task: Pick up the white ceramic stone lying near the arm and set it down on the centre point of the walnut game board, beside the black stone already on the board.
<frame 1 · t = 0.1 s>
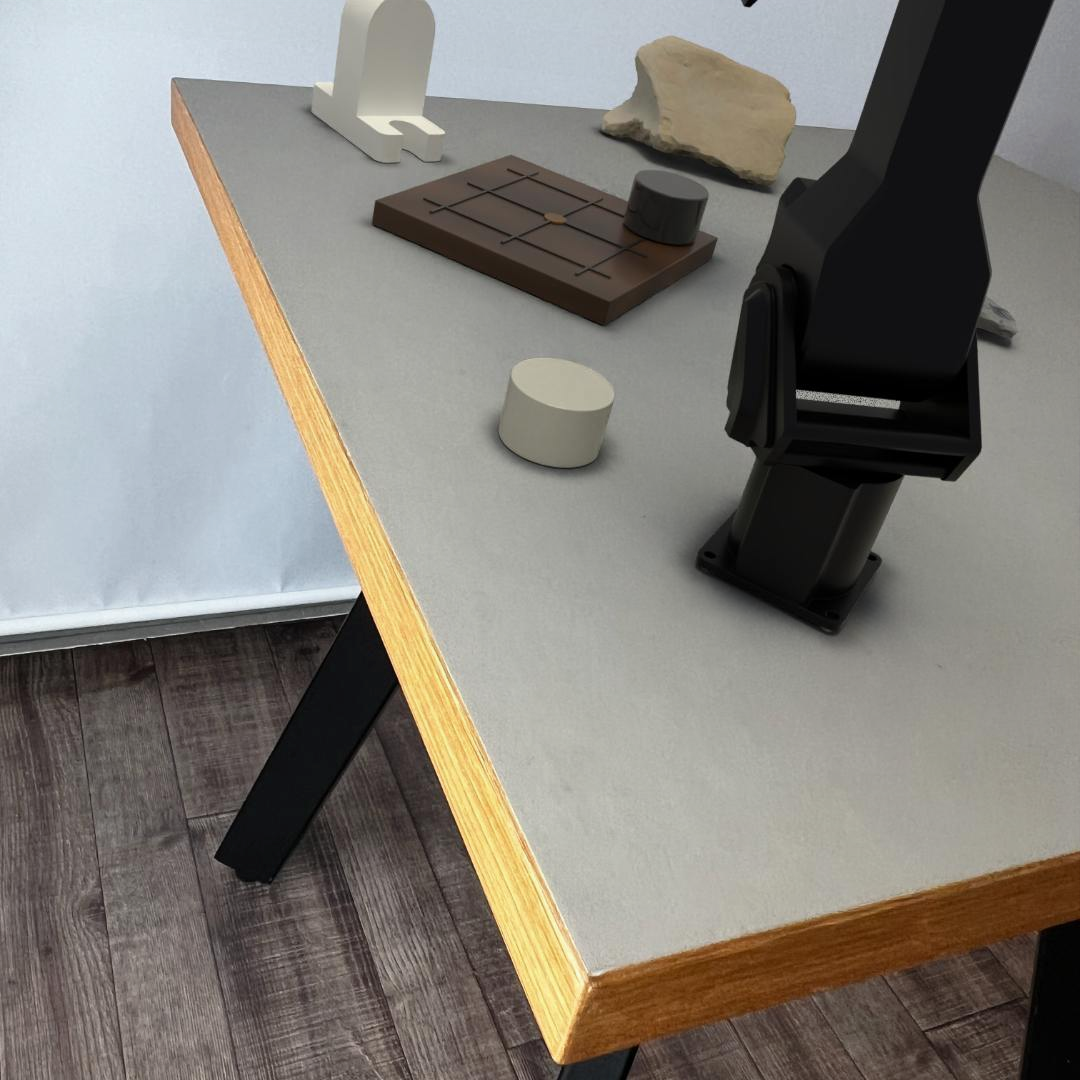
decorative stone: (692, 163, 99), on the table
fossil rock: (892, 272, 88), on the table
black stone: (659, 229, 79), point 2 cm above the table, touching board
white slotted stand: (374, 137, 87), on the table
white stone: (549, 439, 57), on the table
board: (549, 242, 78), on the table
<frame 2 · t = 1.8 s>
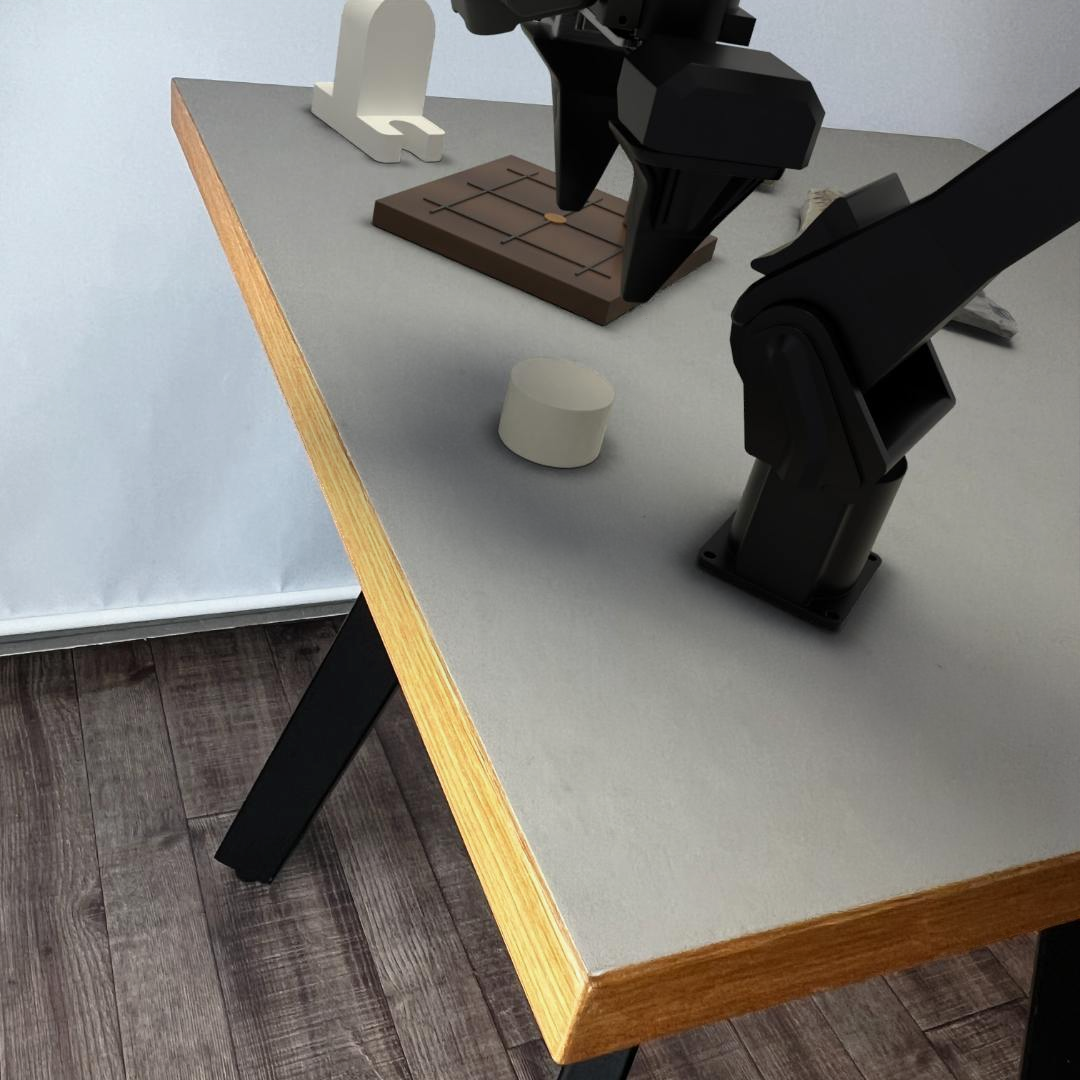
hand: (598, 252, 52), 9 cm above the table, tool pointing down, fingers open, 9 cm apart
nothing on the table moved.
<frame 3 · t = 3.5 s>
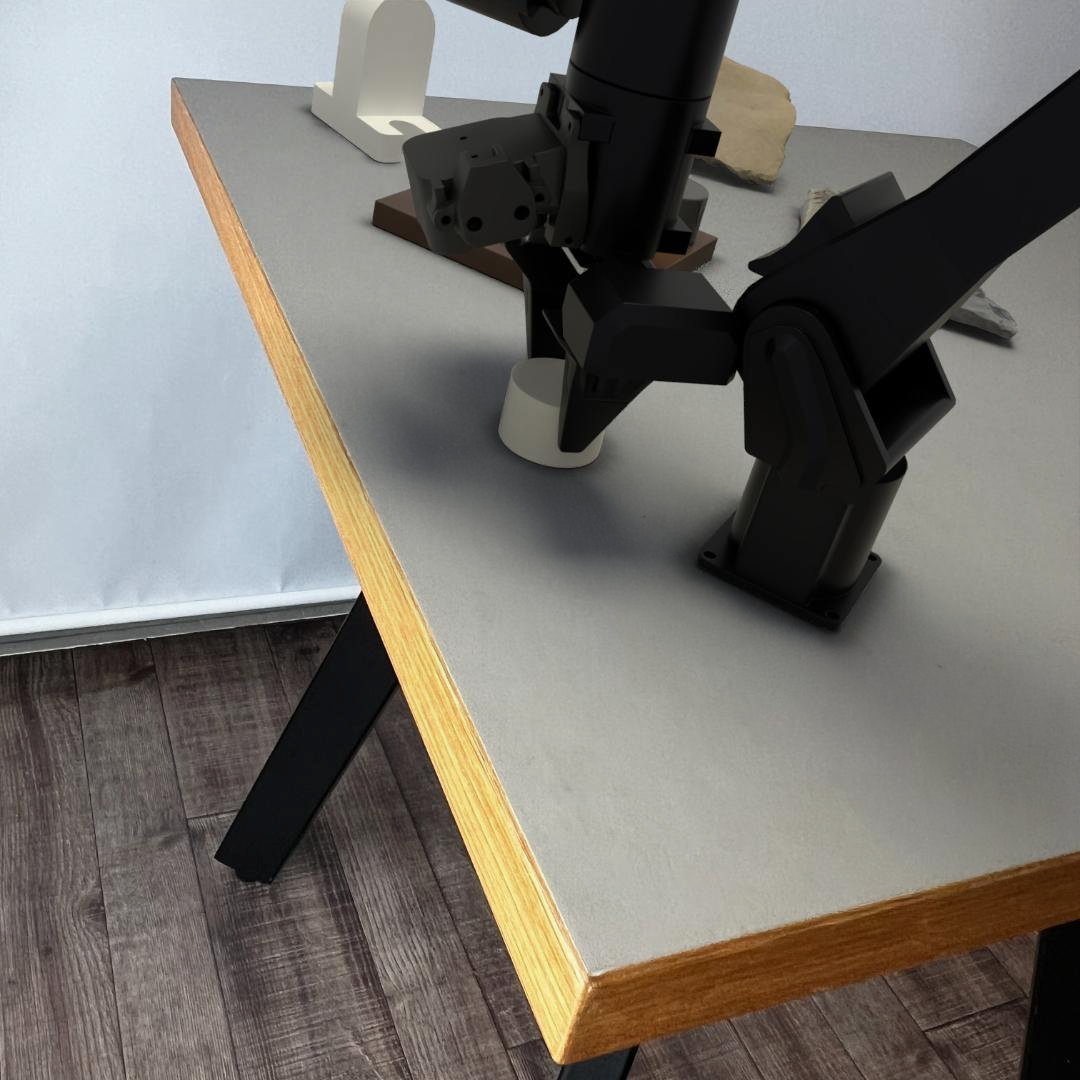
hand: (553, 420, 57), 1 cm above the table, tool pointing down, fingers closed on white stone, 5 cm apart
white stone: (549, 439, 57), on the table, touching gripper
everything else where it was.
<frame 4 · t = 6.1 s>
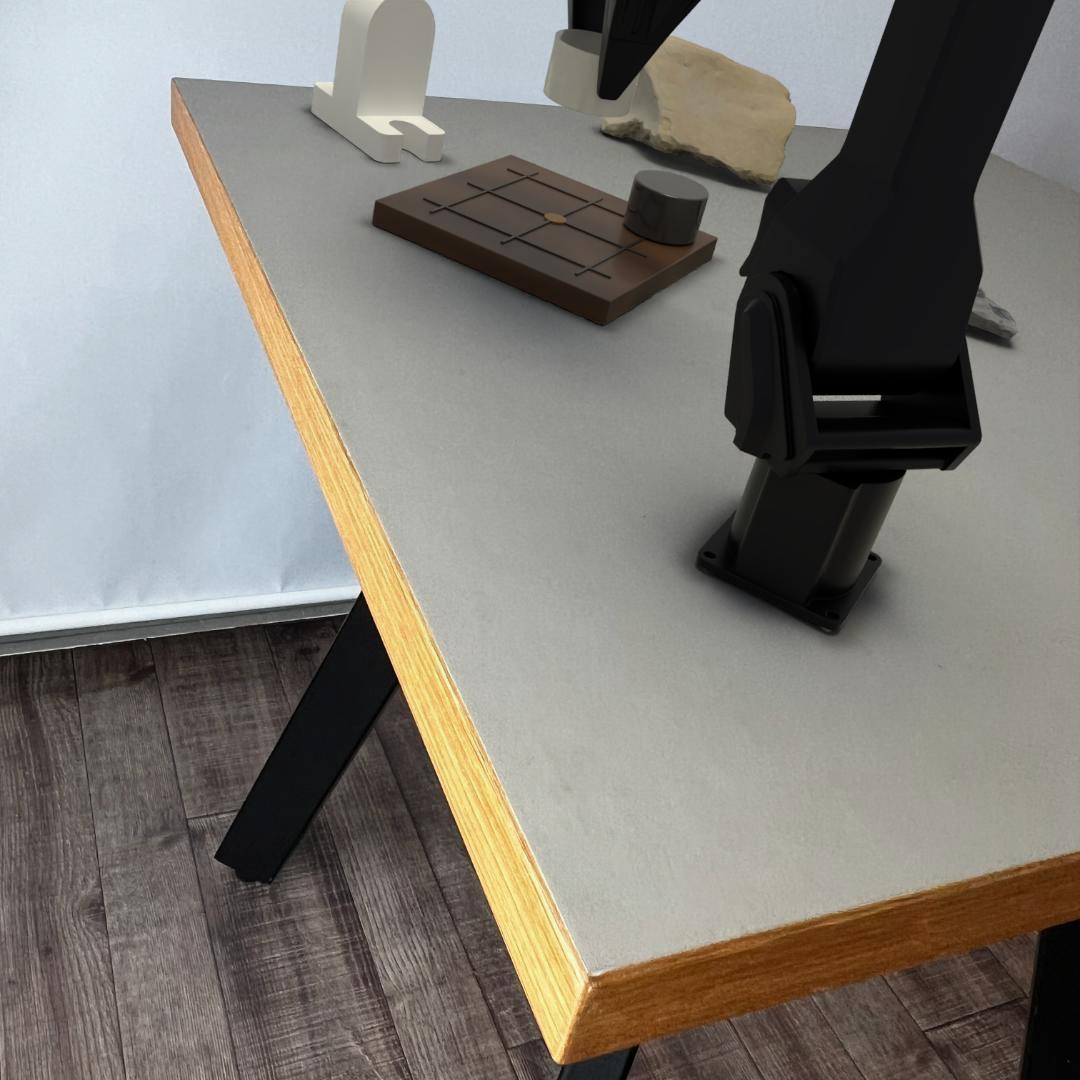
hand: (591, 82, 66), 11 cm above the table, tool pointing down, fingers closed on white stone, 5 cm apart
white stone: (586, 100, 67), point 10 cm above the table, touching gripper
everything else where it was.
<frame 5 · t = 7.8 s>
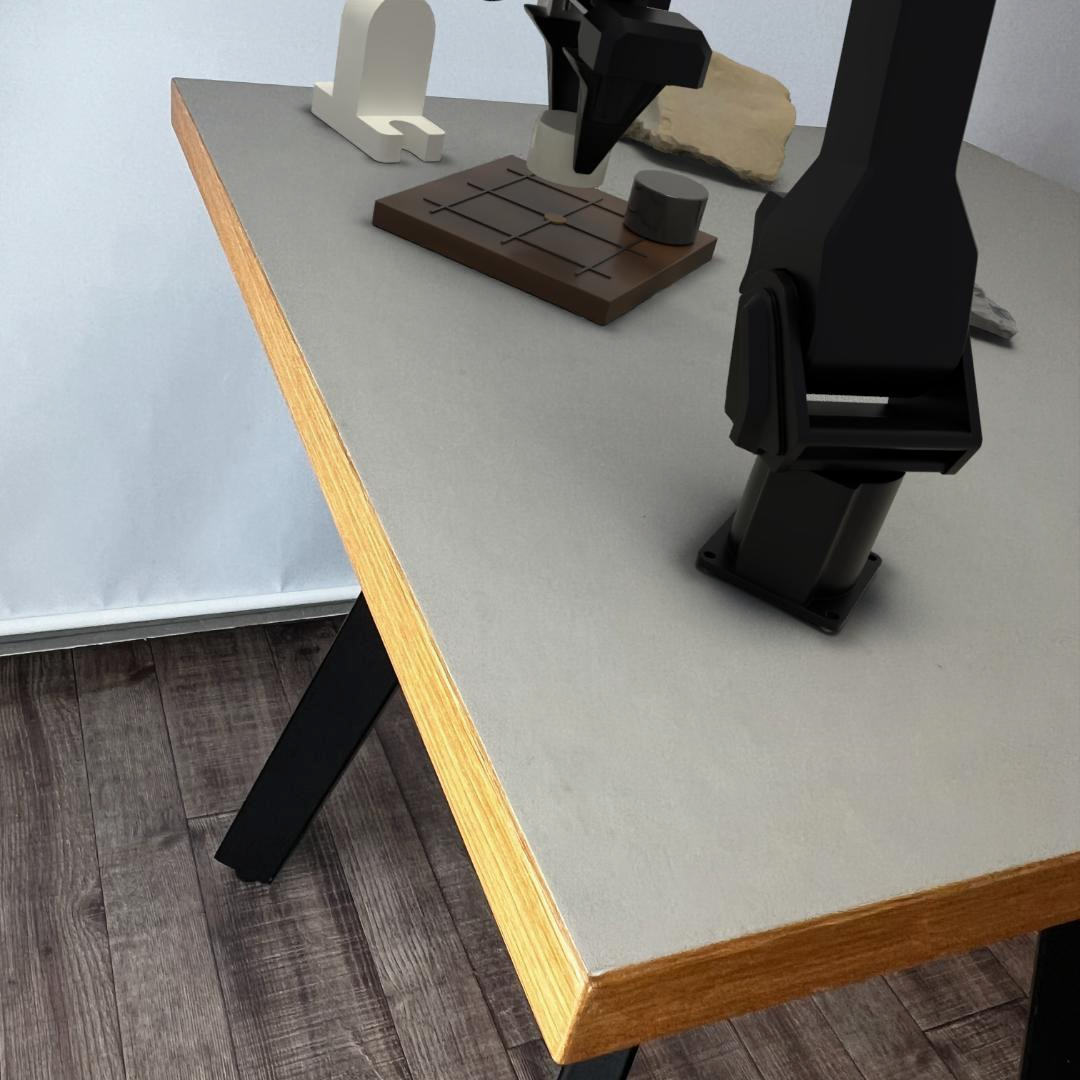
hand: (569, 157, 75), 5 cm above the table, tool pointing down, fingers closed on white stone, 5 cm apart
white stone: (564, 173, 75), point 4 cm above the table, touching gripper
everything else where it was.
when the fingers open (3 cm above the table, at t = 9.0 s): white stone stays where it is, resting on board.
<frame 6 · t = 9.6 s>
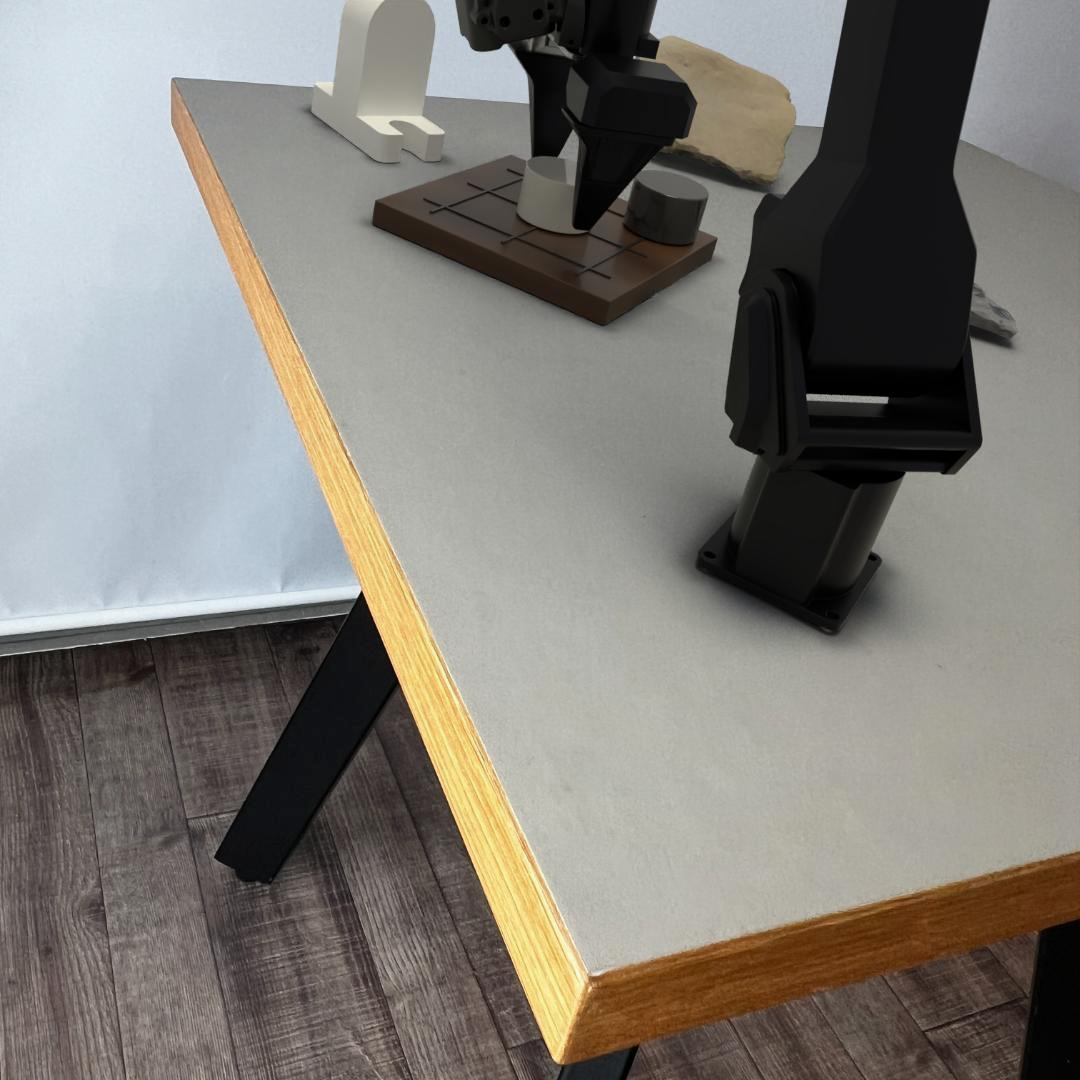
hand: (559, 198, 76), 3 cm above the table, tool pointing down, fingers open, 9 cm apart
white stone: (554, 218, 77), point 2 cm above the table, touching board
everything else where it was.
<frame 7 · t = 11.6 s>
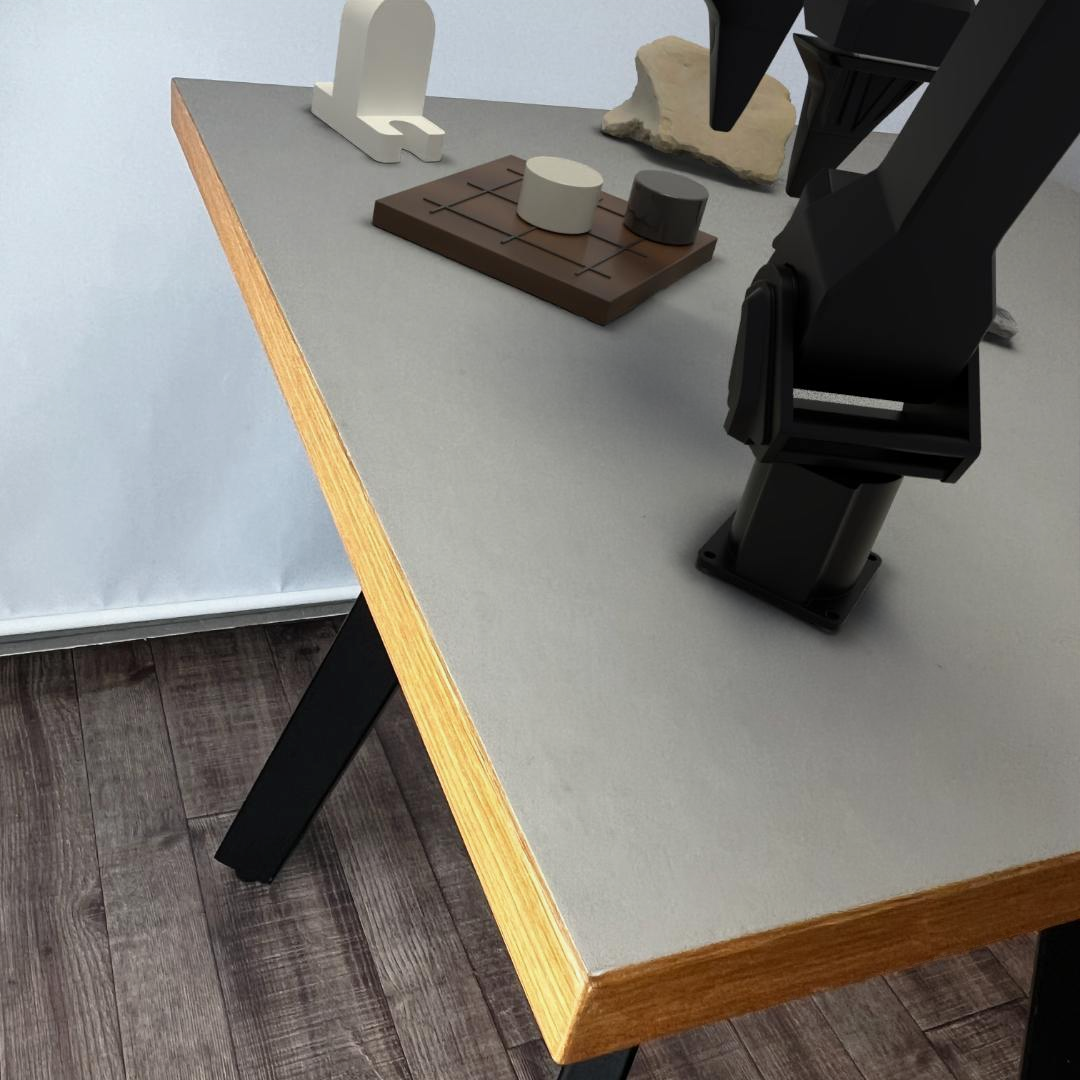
hand: (755, 161, 60), 12 cm above the table, tool pointing down, fingers open, 9 cm apart
nothing on the table moved.
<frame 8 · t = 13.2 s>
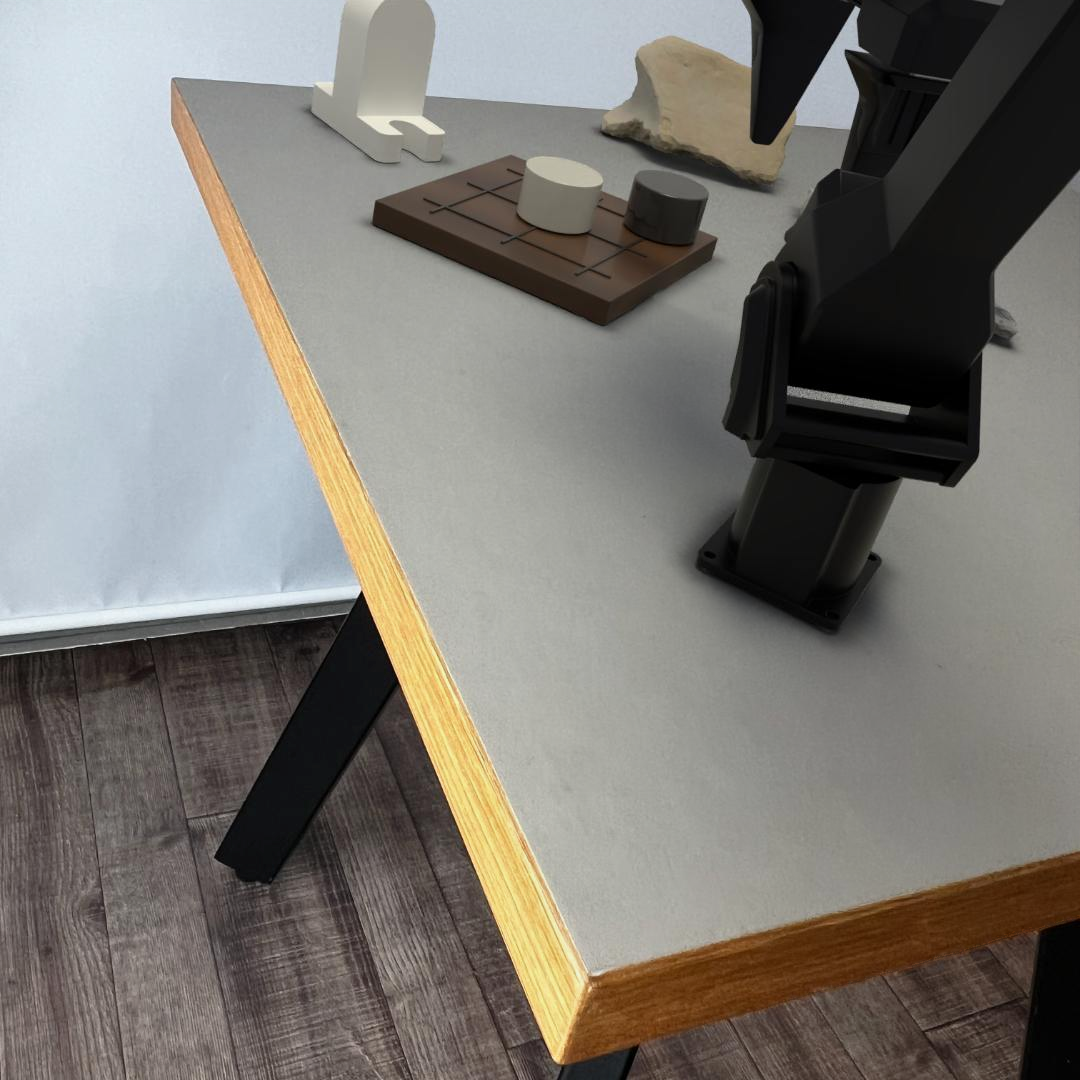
hand: (798, 178, 58), 12 cm above the table, tool pointing down, fingers open, 9 cm apart
nothing on the table moved.
at the end: white stone 0.1 cm off-centre on the board, point 1.6 cm above the board's base; white stone tilted 0°; black stone moved 0.0 cm from its start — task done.
